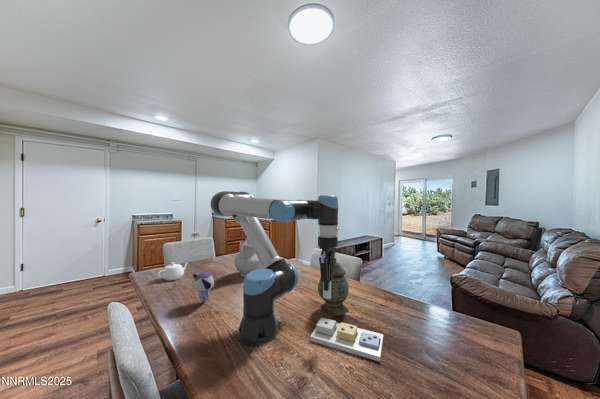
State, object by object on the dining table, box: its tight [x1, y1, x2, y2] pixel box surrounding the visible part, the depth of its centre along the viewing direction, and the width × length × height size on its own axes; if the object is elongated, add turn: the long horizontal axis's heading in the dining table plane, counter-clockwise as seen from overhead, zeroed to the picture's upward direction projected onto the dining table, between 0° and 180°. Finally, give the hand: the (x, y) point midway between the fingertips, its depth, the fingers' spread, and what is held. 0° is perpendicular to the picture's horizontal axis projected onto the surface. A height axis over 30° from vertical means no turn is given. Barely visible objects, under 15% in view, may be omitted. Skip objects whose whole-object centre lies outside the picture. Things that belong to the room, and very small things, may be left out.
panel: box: [309, 322, 384, 363], centre depth 82 cm, size 24×13×2 cm, turn 65°
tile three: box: [360, 332, 380, 350], centre depth 79 cm, size 6×6×3 cm
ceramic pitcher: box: [233, 237, 262, 278], centre depth 151 cm, size 22×20×25 cm
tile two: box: [337, 322, 358, 342], centre depth 82 cm, size 6×6×3 cm
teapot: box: [157, 261, 189, 282], centre depth 144 cm, size 20×12×10 cm, turn 150°
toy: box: [192, 271, 215, 304], centre depth 111 cm, size 11×10×15 cm
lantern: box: [317, 257, 350, 316], centre depth 105 cm, size 14×14×25 cm
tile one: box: [315, 316, 337, 336], centre depth 85 cm, size 6×6×3 cm
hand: (327, 297), depth 85 cm, fingers closed
